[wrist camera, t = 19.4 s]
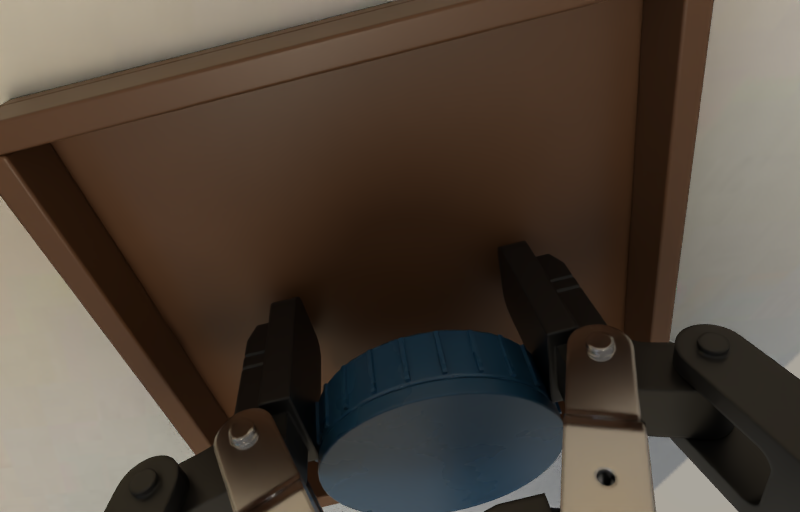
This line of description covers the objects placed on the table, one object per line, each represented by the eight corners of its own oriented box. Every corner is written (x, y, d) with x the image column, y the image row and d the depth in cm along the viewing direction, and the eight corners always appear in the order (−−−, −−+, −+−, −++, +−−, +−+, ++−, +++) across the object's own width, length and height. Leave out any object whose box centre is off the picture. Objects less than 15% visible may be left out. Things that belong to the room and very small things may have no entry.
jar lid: (283, 356, 11) (281, 426, 10) (550, 304, 11) (580, 366, 10) (344, 474, 15) (346, 533, 14) (539, 435, 15) (560, 491, 14)
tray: (629, 381, 19) (659, 426, 17) (254, 472, 19) (247, 526, 17) (661, -68, 11) (724, -65, 9) (7, 100, 11) (-49, 133, 9)
